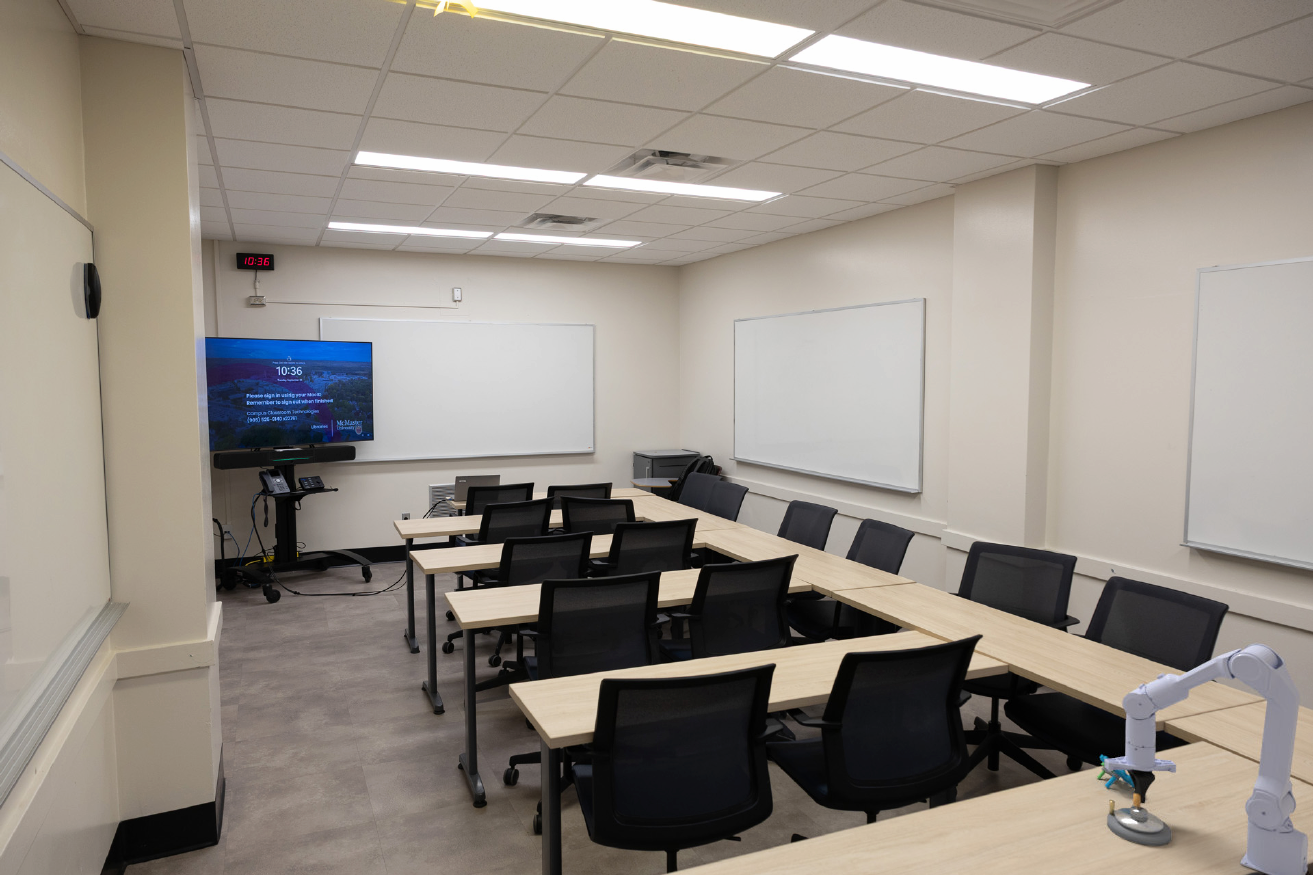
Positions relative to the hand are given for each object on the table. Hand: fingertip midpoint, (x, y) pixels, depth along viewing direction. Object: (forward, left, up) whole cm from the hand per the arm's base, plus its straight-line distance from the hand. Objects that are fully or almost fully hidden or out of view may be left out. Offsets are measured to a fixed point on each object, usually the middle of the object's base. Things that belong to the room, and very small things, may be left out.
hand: (1139, 800), depth 177 cm
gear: (+8, -12, -4) cm, 15 cm away
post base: (-2, +6, -4) cm, 8 cm away
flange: (-2, +6, -2) cm, 6 cm away
